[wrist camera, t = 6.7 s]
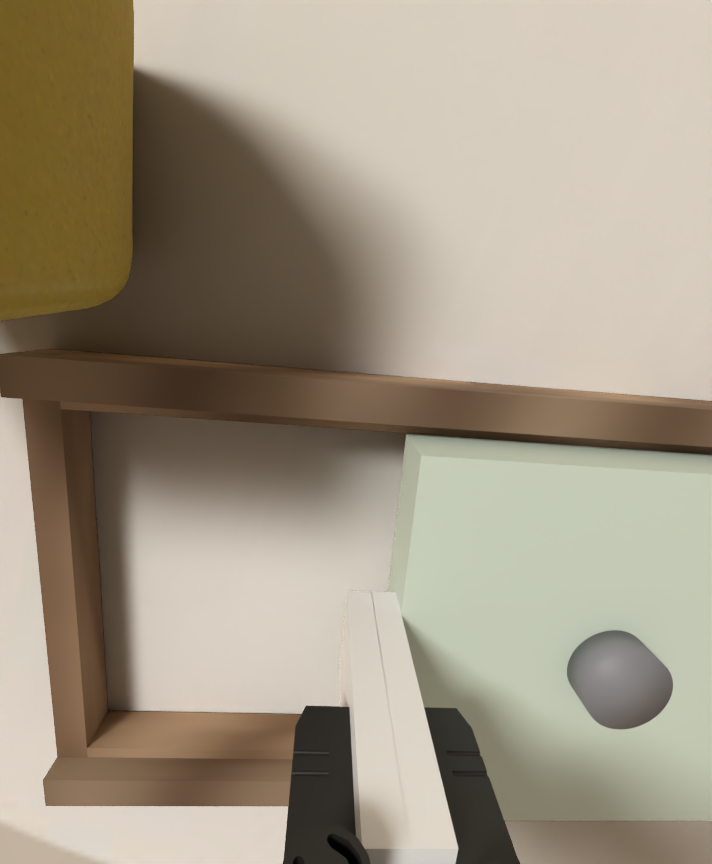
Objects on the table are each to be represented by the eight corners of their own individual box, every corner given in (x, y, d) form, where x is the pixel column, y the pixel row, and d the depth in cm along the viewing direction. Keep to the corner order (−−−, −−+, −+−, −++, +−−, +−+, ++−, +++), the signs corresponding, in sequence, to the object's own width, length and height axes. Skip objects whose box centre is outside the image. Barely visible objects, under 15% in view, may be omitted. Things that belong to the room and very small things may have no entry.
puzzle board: (802, 408, 15) (883, 423, 13) (688, 749, 19) (736, 807, 17) (51, 348, 13) (-5, 354, 11) (82, 741, 17) (45, 805, 15)
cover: (792, 460, 14) (924, 499, 11) (691, 757, 17) (773, 855, 14) (406, 433, 13) (430, 468, 10) (368, 753, 16) (378, 859, 13)
